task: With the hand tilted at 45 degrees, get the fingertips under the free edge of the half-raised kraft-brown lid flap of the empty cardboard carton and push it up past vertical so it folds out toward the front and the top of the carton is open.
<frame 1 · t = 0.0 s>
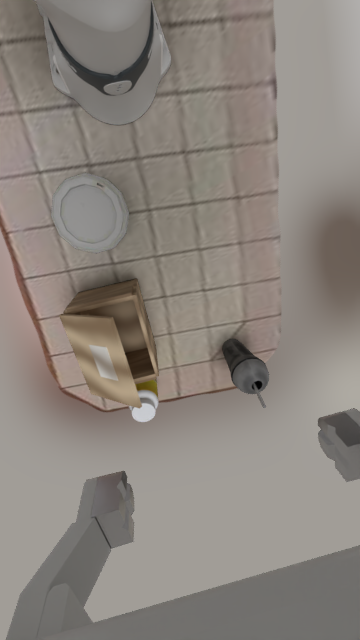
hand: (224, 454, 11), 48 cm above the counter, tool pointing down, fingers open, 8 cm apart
disposable coffee cup: (102, 214, 52), on the counter
pill bottle: (143, 380, 65), on the counter
cardboard carton: (119, 321, 59), on the counter
lid flap: (100, 360, 44), point 16 cm above the counter, hinge at 40.0°
beverage cup: (231, 347, 65), on the counter
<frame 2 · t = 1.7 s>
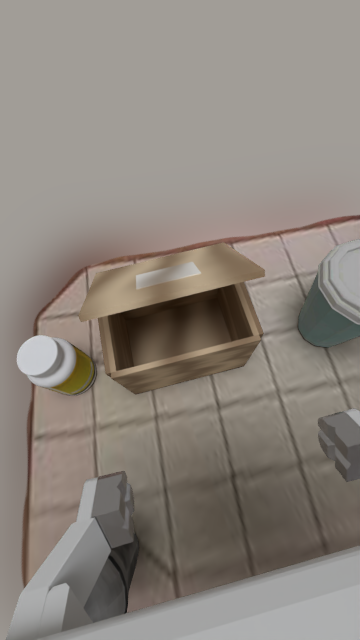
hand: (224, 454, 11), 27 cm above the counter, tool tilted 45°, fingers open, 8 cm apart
disposable coffee cup: (319, 326, 42), on the counter
pill bottle: (77, 374, 41), on the counter
cardboard carton: (179, 341, 42), on the counter
lid flap: (165, 274, 28), point 16 cm above the counter, hinge at 40.0°
beverage cup: (120, 547, 33), on the counter
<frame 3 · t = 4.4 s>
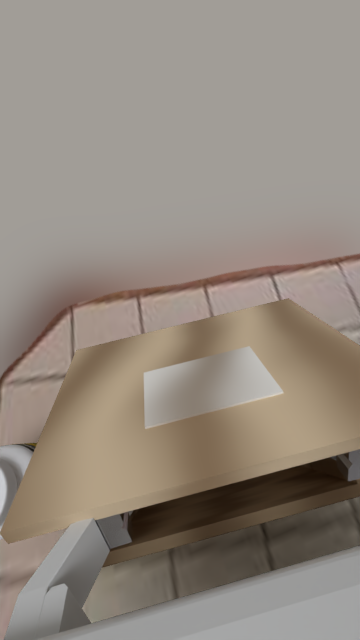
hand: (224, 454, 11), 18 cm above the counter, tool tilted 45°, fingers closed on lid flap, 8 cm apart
pill bottle: (54, 474, 28), on the counter
cardboard carton: (204, 424, 29), on the counter
lid flap: (201, 373, 15), point 16 cm above the counter, hinge at 43.5°, touching gripper
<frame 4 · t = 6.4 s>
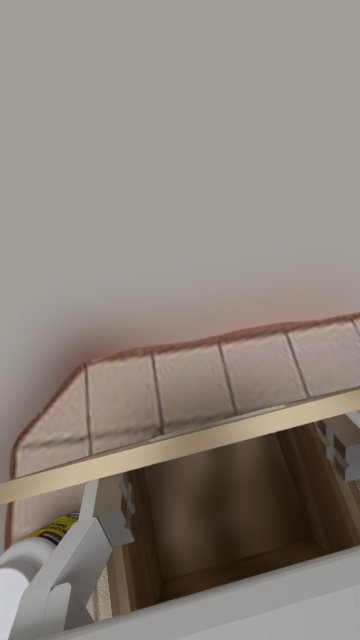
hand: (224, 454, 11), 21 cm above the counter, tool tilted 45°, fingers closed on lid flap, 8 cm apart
pill bottle: (72, 546, 28), on the counter
cardboard carton: (221, 494, 29), on the counter
lid flap: (214, 429, 15), point 18 cm above the counter, hinge at 88.7°, touching gripper
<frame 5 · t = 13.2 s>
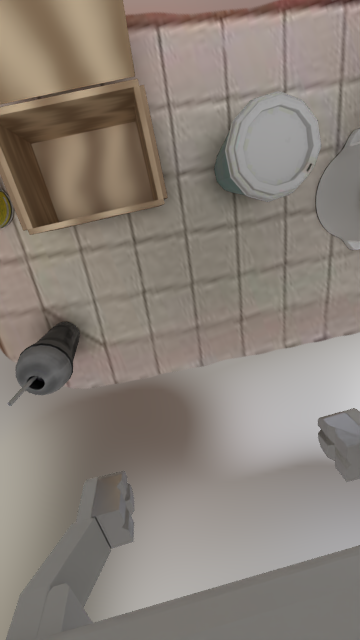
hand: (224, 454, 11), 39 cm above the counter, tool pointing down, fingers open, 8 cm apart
disposable coffee cup: (234, 167, 43), on the counter
cardboard carton: (96, 175, 41), on the counter
lid flap: (25, 10, 22), point 17 cm above the counter, hinge at 128.2°
beverage cup: (66, 333, 50), on the counter
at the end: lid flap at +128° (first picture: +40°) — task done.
